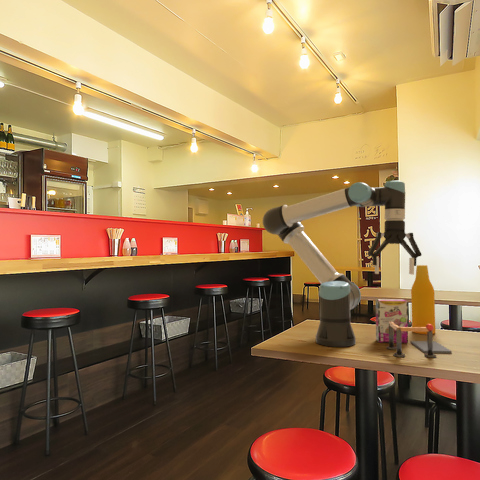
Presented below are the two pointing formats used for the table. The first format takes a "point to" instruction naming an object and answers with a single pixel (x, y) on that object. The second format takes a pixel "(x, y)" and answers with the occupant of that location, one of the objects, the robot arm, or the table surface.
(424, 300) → the beer bottle
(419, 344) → the mat
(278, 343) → the table surface
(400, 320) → the candy bar box
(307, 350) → the table surface
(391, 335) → the bent wire
